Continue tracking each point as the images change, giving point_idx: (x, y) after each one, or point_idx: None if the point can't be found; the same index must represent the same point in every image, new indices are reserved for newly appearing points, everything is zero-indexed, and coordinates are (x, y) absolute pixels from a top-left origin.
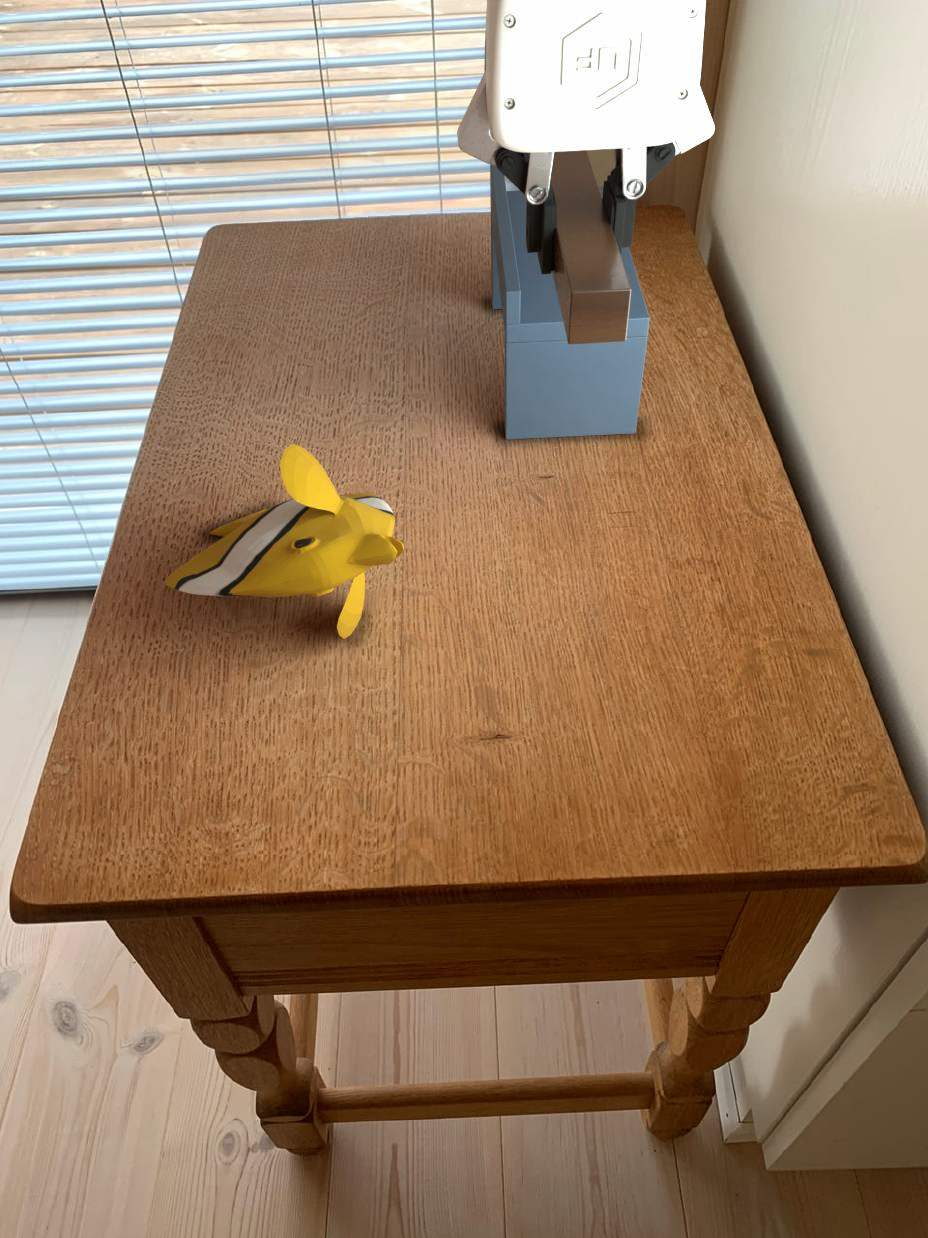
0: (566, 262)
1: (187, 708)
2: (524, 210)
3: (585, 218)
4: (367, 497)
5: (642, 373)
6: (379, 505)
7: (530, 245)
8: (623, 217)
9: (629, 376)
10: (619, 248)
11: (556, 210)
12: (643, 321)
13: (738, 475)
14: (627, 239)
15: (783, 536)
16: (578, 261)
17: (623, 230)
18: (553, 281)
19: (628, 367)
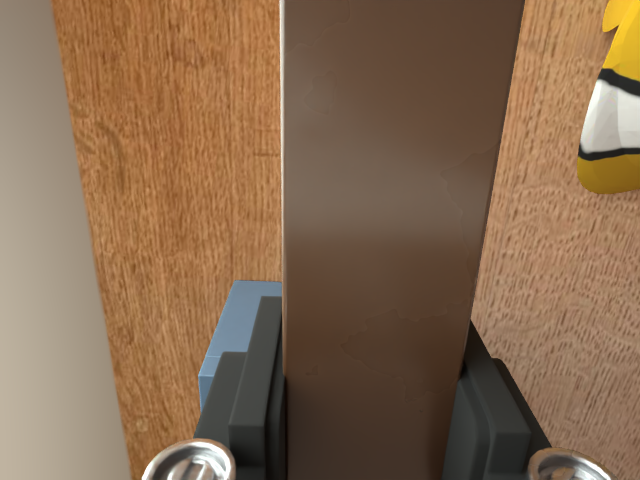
0: (488, 165)
1: None
2: None
3: (356, 414)
4: (595, 154)
5: (218, 323)
6: (605, 108)
7: (501, 366)
8: (242, 384)
9: (235, 321)
10: (260, 323)
11: (477, 422)
12: (207, 371)
13: (127, 200)
14: (232, 359)
15: (85, 92)
16: (444, 165)
17: (245, 357)
18: None
19: (235, 330)
